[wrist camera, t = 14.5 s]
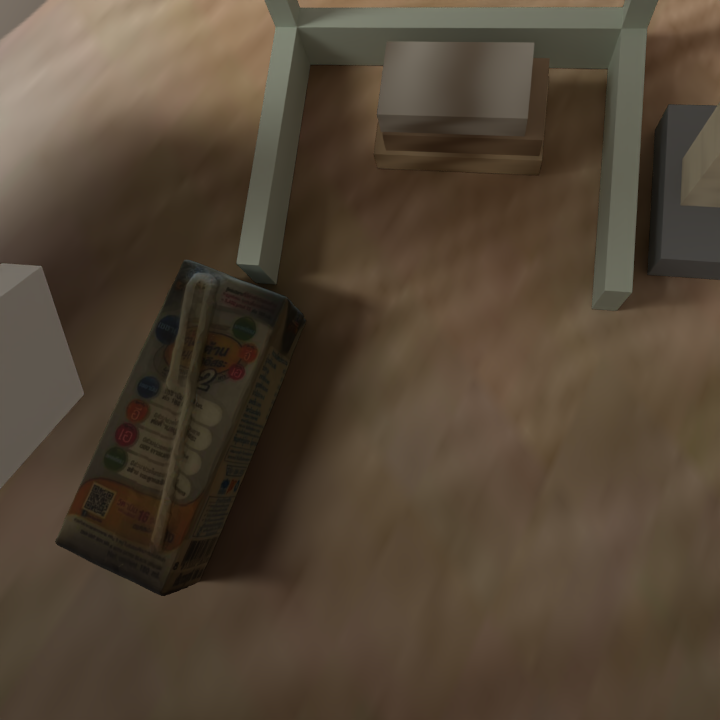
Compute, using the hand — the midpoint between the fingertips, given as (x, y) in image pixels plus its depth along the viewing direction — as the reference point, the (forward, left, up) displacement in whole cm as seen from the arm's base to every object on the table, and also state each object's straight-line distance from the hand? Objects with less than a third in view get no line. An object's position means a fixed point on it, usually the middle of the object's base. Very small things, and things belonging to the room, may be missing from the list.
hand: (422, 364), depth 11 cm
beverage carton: (-16, -6, -32) cm, 36 cm away
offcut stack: (-9, +20, -31) cm, 38 cm away
